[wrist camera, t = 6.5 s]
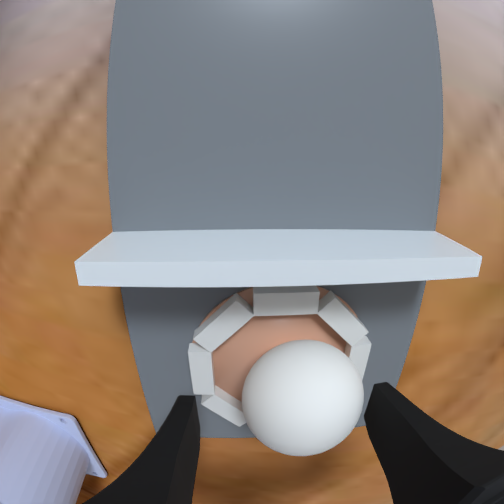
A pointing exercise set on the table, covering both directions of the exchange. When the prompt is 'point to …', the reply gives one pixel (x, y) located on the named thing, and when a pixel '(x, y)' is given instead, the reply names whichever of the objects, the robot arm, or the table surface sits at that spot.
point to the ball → (302, 397)
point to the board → (270, 189)
